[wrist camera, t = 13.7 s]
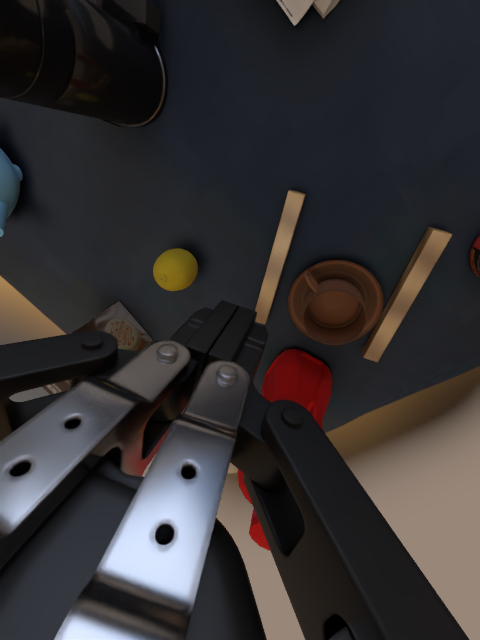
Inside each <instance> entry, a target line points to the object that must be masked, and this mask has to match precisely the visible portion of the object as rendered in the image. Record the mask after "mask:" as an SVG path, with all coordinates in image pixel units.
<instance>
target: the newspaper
mask: <svg viewBox="0 0 480 640" xmlns="http://www.w3.org/2000/svg"><path fill="white" fill-rule="evenodd" d="M276 1H277V2H278V3H279V5H280V6H281V8H282V9H283V11H284V12H285V13H286V15H287V16H288V18H289V19H290V21H291V22H292V23H293V25H294V26H295V25H296V24H297V23H298V22H299V21H300V20H301V18H302V17H303V16H304V14H305V13H306V12H307V10H308V9H309V7H310V6H311V5H313V6H314V7H315V9H316V10H317V11H318V13H319V14H320V15H321V17H322V18H323V19H324V18H325V17H326V16H327V14H328V13H329V12H330V11H331V10H332V9H333V8H334V7H335V6H336V5H337V3H338V2H339V1H340V0H276Z"/></svg>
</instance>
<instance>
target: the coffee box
mask: <svg viewBox="0 0 480 640" xmlns="http://www.w3.org/2000/svg"><path fill="white" fill-rule="evenodd" d="M85 331H103V332H107V333H110V334H111V335H113V336H114V337H115V338H116V339H117V341H118V349H124V350H133V351H142V350H143V349H144V348H145V347H146V346H147V345H148V344H149V343H150V342H151V341H152V338H151V337H150V336H149V335H148V334H147V333H146V331H145V330H144V329H143V328H142V327H141V326H140V324H139V323H138V322H137V321H136V320H135V319H134V317H133V316H132V315H131V314H130V313H129V312H128V310H127V309H126V308H125V307H124V306H123V305H122V303H121V302H120V301H119V302H117V303H116V304H114V305H113V306H111V307H110V308H108V309H107V310H105V311H104V312H102V313H100V314H99V315H97V316H96V317H94V318H93V319H91V320H90V321H88V322H87V323H85V324H84V325H82V326H81V327H79V328H78V329H76V330H75V331H73V332H72V333H70V334H73V333H79V332H85ZM42 387H43V388H44V389H45V390H46V391H47V392H48V393H49V394H50V395H52V394H55V393H59V392H63V391H67V390H70V385H69V380H67V381H63V382H59V383H54V384H50V385H46V386H42Z"/></svg>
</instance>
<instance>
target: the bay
mask: <svg viewBox="0 0 480 640" xmlns="http://www.w3.org/2000/svg"><path fill="white" fill-rule="evenodd" d="M305 197H306V194H305V193H301V192H298V191H294V190H289V191H288V194H287V198H286V201H285V205H284V209H283V212H282V216H281V219H280V223H279V227H278V230H277V234H276V237H275V241H274V245H273V248H272V252H271V255H270V259H269V262H268V266H267V270H266V273H265V277H264V280H263V284H262V288H261V291H260V295H259V298H258V302H257V306H256V309H255V311H256V312H257V316H256V320H255V321H256V322H259V323H262V324H266V322H267V319H268V316H269V313H270V310H271V307H272V303H273V300H274V297H275V294H276V291H277V287H278V284H279V281H280V278H281V274H282V271H283V268H284V265H285V261H286V258H287V255H288V252H289V248H290V245H291V242H292V239H293V236H294V232H295V229H296V226H297V223H298V219H299V216H300V213H301V210H302V206H303V203H304V200H305ZM451 236H452V234H450V233H448V232H447V231H444V230H440V229H436V228H432V227H428V228H427V230H426V232H425V234H424V236H423V238H422V240H421V241H420V243H419V245H418V247H417V249H416V251H415V253H414V254H413V256H412V258H411V260H410V262H409V264H408V266H407V268H406V269H405V271H404V273H403V275H402V277H401V279H400V281H399V282H398V284H397V286H396V288H395V290H394V292H393V294H392V295H391V297H390V299H389V301H388V303H387V305H386V307H385V308H384V310H383V312H382V314H381V316H380V318H379V320H378V321H377V323H376V325H375V327H374V329H373V331H372V333H371V334H370V336H369V338H368V340H367V342H366V344H365V346H364V347H363V349H362V352H363V357H364V358H366V359H369V360H372V361H375V362H378V361H379V359H380V357H381V355H382V354H383V352H384V350H385V349H386V347H387V345H388V344H389V342H390V340H391V338H392V337H393V335H394V333H395V332H396V330H397V328H398V326H399V325H400V323H401V321H402V320H403V318H404V316H405V315H406V313H407V311H408V309H409V308H410V306H411V304H412V303H413V301H414V299H415V298H416V296H417V294H418V292H419V291H420V289H421V287H422V286H423V284H424V282H425V281H426V279H427V277H428V275H429V274H430V272H431V270H432V269H433V267H434V265H435V263H436V262H437V260H438V258H439V257H440V255H441V253H442V252H443V250H444V248H445V246H446V245H447V243H448V241H449V240H450V238H451Z"/></svg>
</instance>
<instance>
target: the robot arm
mask: <svg viewBox="0 0 480 640" xmlns="http://www.w3.org/2000/svg"><path fill="white" fill-rule="evenodd" d="M160 14H161V11H160V10H159V9H158V8H157V7H155V6H154V5H153V4H152V3H151V2H150V1H149V0H0V98H5V99H10V100H15V101H19V102H24V103H29V104H33V105H38V106H43V107H47V108H52V109H57V110H61V111H66V112H70V113H75V114H80V115H84V116H89V117H94V118H98V119H101V120H104V121H106V122H109V123H111V124H113V125H116V126H118V127H122V126H120V125H118V124H115V123H113V122H117V123H120V124H124V125H127V126H132V127H142V126H145V125H147V124H149V123H151V122H152V121H153V120H155V118H156V117H157V116H158V115H159V113H160V112H161V110H162V108H163V105H164V102H165V99H166V94H167V73H166V67H165V63H164V60H163V57H162V55H161V53H160V51H159V49H158V46H157V38H158V37H157V34H158V35H159V33H160ZM110 121H112V122H110ZM123 128H125V127H123ZM256 316H257V312H256V311H253V310H250V309H247V308H244V307H241V306H240V307H239V306H238V305H235V304H232V303H229V302H226V301H223V300H222V301H221V302H220V303H219V304H218V305H217V306H216V308H215V309H214V310H212V309H209V308H203V309H201V310H198V311H196V312H195V313H194V314H193V315H192V316H191V317H190V319H188V320H187V321H186V322H185V324H183V325H182V326H181V327H180V329H179V330H178V331H177V332H176V333H175V334H174V335H173V336H172V337H171V338H170V339H169V340H162V341H157V342H153V343H151V344H150V345H148V346H147V347H146V348H145V349H143V350H142V351H133V350H124V349H118V341H117V339H116V338H115V337H114V336H113V335H111V334H110V333H107V332H103V331H85V332H79V333H73V334H67V335H61V336H55V337H48V338H42V339H36V340H30V341H24V342H18V343H12V344H5V345H0V640H267V639H266V635H265V632H264V629H263V625H262V622H261V618H260V615H259V611H258V608H257V605H256V601H255V598H254V594H253V591H252V587H251V584H250V580H249V577H248V574H247V570H246V568H245V564H244V562H243V559H242V557H241V554H240V552H239V550H238V547H237V546H236V544H235V542H234V540H233V538H232V537H231V535H230V534H229V532H228V531H227V530H226V528H225V527H224V526H223V525H222V523H221V522H220V521H219V520H218V519H217V518H216V515H217V511H218V507H219V503H220V499H221V495H222V492H223V488H224V483H225V480H226V476H227V472H228V468H229V464H230V462H231V463H232V464H233V465H234V466H236V467H237V468H238V469H239V470H240V471H242V472H243V480H244V484H245V486H246V489H247V491H248V494H249V497H250V499H251V502H252V504H253V507H254V509H255V512H256V514H257V517H258V520H259V522H260V525H261V527H262V530H263V532H264V535H265V537H266V540H267V543H268V545H269V548H270V550H271V553H272V555H273V558H274V561H275V563H276V566H277V568H278V571H279V573H280V576H281V578H282V581H283V583H284V586H285V588H286V591H287V594H288V596H289V598H290V601H291V604H292V607H293V609H294V612H295V614H296V617H297V619H298V622H299V624H300V627H301V629H302V632H303V635H304V637H305V640H469V639H468V637H467V636H466V634H465V633H464V631H463V630H462V628H461V627H460V626H459V624H458V623H457V621H456V620H455V618H454V617H453V616H452V614H451V613H450V611H449V610H448V608H447V607H446V606H445V604H444V603H443V601H442V600H441V598H440V597H439V596H438V595H437V593H436V591H435V590H434V588H433V587H432V586H431V584H430V583H429V582H428V580H427V579H426V577H425V576H424V574H423V573H422V571H421V570H420V569H419V567H418V566H417V564H416V563H415V562H414V560H413V558H412V557H411V556H410V554H409V553H408V552H407V550H406V548H405V547H404V546H403V544H402V543H401V541H400V540H399V539H398V537H397V536H396V534H395V533H394V531H393V530H392V529H391V527H390V526H389V524H388V523H387V521H386V520H385V518H384V517H383V516H382V514H381V513H380V511H379V510H378V508H377V507H376V506H375V505H374V503H373V501H372V500H371V498H370V497H369V496H368V494H367V493H366V491H365V490H364V488H363V487H362V486H361V484H360V483H359V482H358V480H357V479H356V477H355V476H354V474H353V473H352V471H351V470H350V468H349V467H348V466H347V464H346V463H345V461H344V460H343V458H342V457H341V456H340V454H339V453H338V451H337V450H336V448H335V447H334V446H333V444H332V443H331V441H330V440H329V439H328V437H327V436H326V434H325V433H324V431H323V430H322V428H321V427H320V426H319V424H318V423H317V421H316V420H315V419H314V417H313V416H312V414H311V413H310V412H309V411H308V410H307V409H306V408H305V407H303V406H302V405H300V404H298V403H296V402H294V401H290V400H277V401H274V402H272V403H271V402H270V401H268V400H267V399H265V398H264V397H263V396H261V395H260V394H259V392H258V391H257V390H256V388H255V387H254V384H253V379H254V377H255V374H256V371H257V369H258V366H259V363H260V360H261V357H262V354H263V350H264V347H265V344H266V341H267V338H268V334H267V330H266V327H263V326H260V325H257V324H254V323H255V320H256ZM67 380H69V385H70V390H67V391H63V392H59V393H55V394H52V395H48V396H44V397H40V398H36V399H33V400H29V401H25V402H14V401H12V400H10V399H9V397H10V396H11V395H13V394H15V393H18V392H21V391H25V390H30V389H33V388H38V387H42V386H46V385H50V384H54V383H59V382H63V381H67ZM186 405H187V406H186ZM185 407H186V408H185ZM184 408H185V410H184ZM183 410H184V412H183V414H182V415H181V413H182V411H183ZM155 454H156V455H155ZM154 456H155V457H154ZM153 457H154V459H153ZM152 459H153V461H152V463H151V465H150V467H149V469H148V471H147V473H146V475H145V477H142V475H143V473H144V470H145V469H146V467H147V466H148V464H149V463H150V461H151V460H152Z"/></svg>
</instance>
